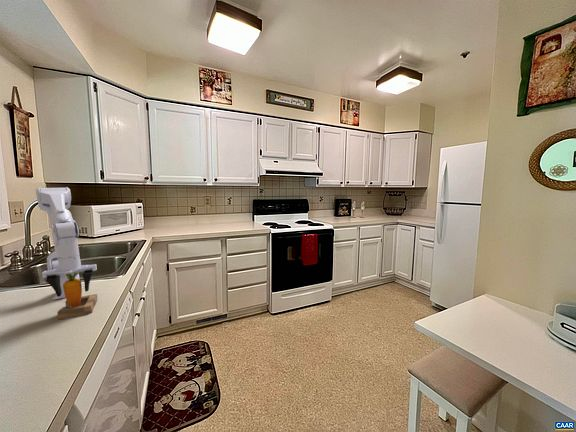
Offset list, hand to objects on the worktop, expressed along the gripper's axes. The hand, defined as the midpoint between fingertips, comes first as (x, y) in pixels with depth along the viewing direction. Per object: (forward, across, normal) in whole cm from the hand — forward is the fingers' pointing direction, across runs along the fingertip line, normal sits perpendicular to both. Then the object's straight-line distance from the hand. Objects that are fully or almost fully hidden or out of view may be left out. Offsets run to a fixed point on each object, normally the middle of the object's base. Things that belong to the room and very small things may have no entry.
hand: (73, 292), depth 89 cm
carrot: (+7, 0, 0) cm, 7 cm away
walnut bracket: (+6, 0, 0) cm, 7 cm away
